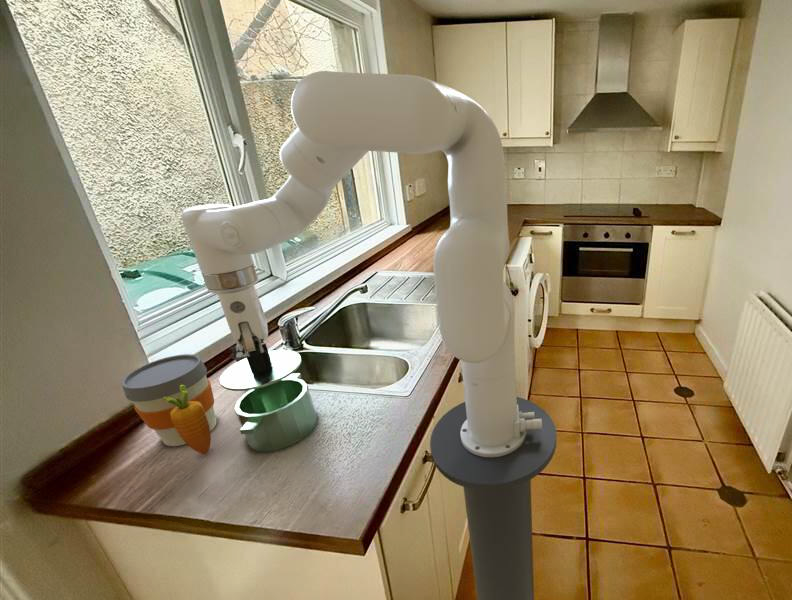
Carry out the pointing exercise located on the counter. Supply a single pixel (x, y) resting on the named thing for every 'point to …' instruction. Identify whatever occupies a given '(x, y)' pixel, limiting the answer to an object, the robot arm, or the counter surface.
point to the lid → (244, 380)
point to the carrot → (190, 422)
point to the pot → (276, 414)
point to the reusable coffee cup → (168, 392)
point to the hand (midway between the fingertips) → (261, 366)
